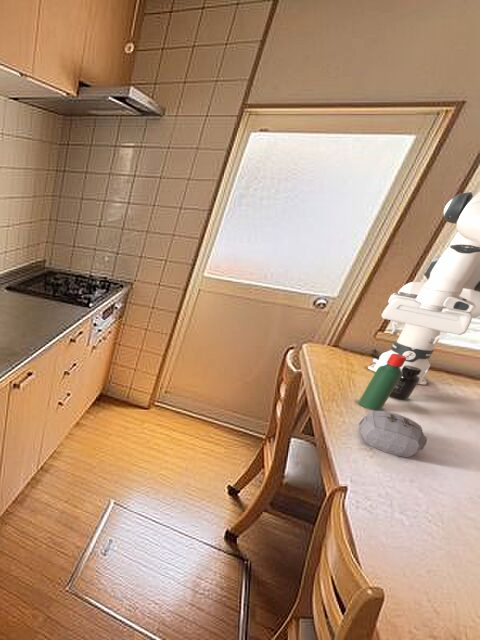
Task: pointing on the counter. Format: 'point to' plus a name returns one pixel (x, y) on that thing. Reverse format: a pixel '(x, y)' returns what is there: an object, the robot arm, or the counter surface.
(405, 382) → the supplement bottle
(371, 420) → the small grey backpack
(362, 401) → the bottle
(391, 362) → the cap
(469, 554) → the counter surface
